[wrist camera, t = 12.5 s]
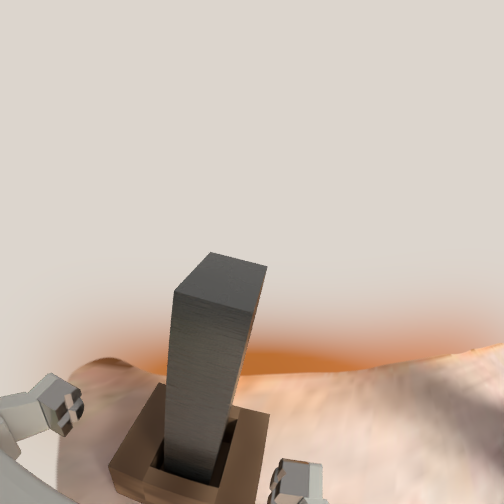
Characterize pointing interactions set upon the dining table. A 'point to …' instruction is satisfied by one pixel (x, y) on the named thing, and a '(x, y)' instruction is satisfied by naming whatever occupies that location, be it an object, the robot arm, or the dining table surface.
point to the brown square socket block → (179, 489)
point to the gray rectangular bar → (207, 360)
